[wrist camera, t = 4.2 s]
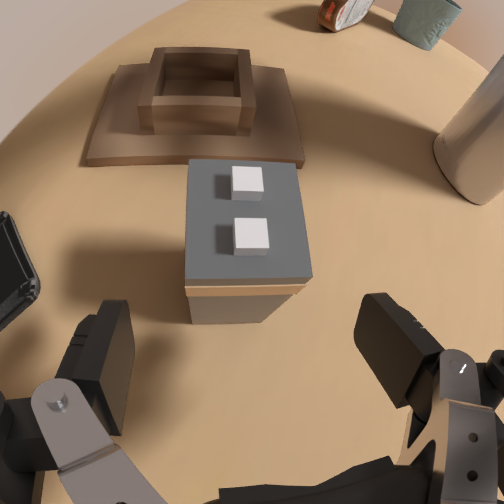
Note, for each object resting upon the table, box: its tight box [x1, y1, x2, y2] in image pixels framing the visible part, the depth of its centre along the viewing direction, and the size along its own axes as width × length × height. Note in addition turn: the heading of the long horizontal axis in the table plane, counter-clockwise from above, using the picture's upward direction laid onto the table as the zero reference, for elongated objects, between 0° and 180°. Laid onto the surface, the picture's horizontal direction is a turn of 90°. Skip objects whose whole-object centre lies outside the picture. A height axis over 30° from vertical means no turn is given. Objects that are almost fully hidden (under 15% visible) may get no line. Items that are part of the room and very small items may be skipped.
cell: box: [185, 159, 313, 325], centre depth 14 cm, size 4×5×10 cm
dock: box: [86, 47, 305, 169], centre depth 22 cm, size 16×12×4 cm
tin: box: [317, 0, 374, 32], centre depth 32 cm, size 15×3×8 cm, turn 142°
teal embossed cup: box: [392, 0, 462, 51], centre depth 36 cm, size 10×10×12 cm
